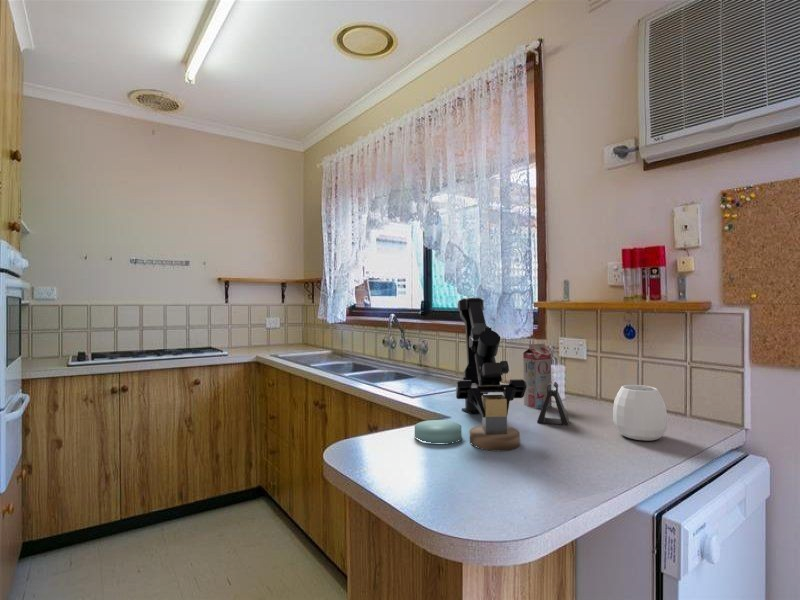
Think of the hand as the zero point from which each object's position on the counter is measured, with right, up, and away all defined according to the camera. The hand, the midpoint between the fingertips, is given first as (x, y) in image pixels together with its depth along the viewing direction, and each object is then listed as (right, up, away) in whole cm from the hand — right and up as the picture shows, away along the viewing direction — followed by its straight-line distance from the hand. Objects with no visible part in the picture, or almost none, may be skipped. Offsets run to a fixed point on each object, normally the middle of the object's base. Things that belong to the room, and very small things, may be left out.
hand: (495, 416), depth 118 cm
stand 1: (-15, -7, +7) cm, 18 cm away
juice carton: (+24, -7, +41) cm, 48 cm away
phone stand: (+22, -7, +20) cm, 31 cm away
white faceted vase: (+40, -7, +5) cm, 41 cm away
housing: (0, -4, +1) cm, 4 cm away
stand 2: (0, -7, +1) cm, 7 cm away
